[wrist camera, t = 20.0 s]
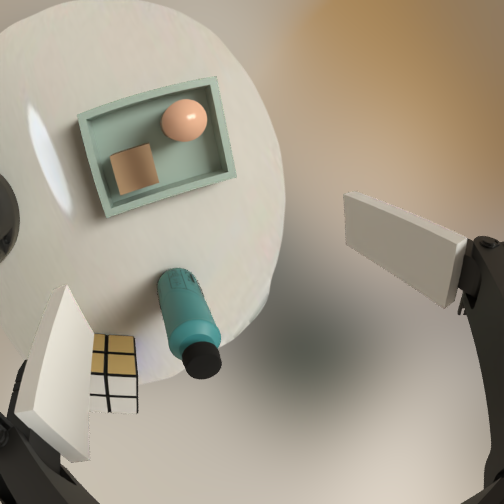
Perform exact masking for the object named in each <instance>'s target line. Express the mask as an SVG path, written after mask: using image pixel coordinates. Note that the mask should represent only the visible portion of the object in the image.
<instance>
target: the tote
mask: <svg viewBox="0 0 504 504" xmlns="http://www.w3.org/2000/svg"><path fill="white" fill-rule="evenodd" d="M183 99H190V100H194V101H196V102H198V103H199V104H200V105H201V106H202V107H203V108H204V110H205V112H206V115H207V125H206V128H205V130H204V131H203V133H202V134H201V135H200V136H199V137H198V138H196V139H194V140H192V141H188V142H181V141H176V140H172V139H170V138H168V137H166V136H165V135H164V134H163V132H162V130H161V128H160V119H161V116H162V114H163V113H164V111H165V110H166V109H167V108H168V107H169V106H170V105H172V104H173V103H175V102H176V101H179V100H183ZM77 117H78V122H79V126H80V130H81V134H82V138H83V142H84V146H85V150H86V154H87V157H88V161H89V165H90V168H91V172H92V175H93V178H94V182H95V185H96V188H97V191H98V194H99V198H100V201H101V204H102V207H103V210H104V213H105V215H106V218H109V217H112V216H114V215H117V214H120V213H123V212H126V211H129V210H131V209H134V208H137V207H140V206H143V205H146V204H149V203H152V202H155V201H158V200H161V199H165V198H168V197H171V196H174V195H177V194H181V193H184V192H187V191H190V190H194V189H197V188H200V187H204V186H207V185H211V184H214V183H218V182H221V181H225V180H229V179H232V178H236V177H237V175H236V170H235V165H234V160H233V155H232V150H231V145H230V140H229V135H228V131H227V126H226V121H225V116H224V111H223V106H222V101H221V96H220V91H219V86H218V81H217V76H214V77H208V78H203V79H198V80H193V81H188V82H183V83H179V84H174V85H170V86H166V87H162V88H158V89H154V90H150V91H147V92H143V93H140V94H136V95H133V96H129V97H126V98H123V99H120V100H117V101H114V102H111V103H108V104H105V105H102V106H99V107H96V108H94V109H91V110H88V111H86V112H83V113H80V114H78V115H77ZM148 142H149V144H150V148H151V152H152V156H153V160H154V164H155V168H156V172H157V176H158V179H159V183H157V184H154V185H151V186H148V187H144V188H141V189H138V190H135V191H132V192H129V193H126V194H123V195H120V192H119V188H118V185H117V181H116V178H115V175H114V171H113V167H112V164H111V160H110V156H111V155H112V154H114V153H116V152H119V151H122V150H125V149H128V148H132V147H135V146H138V145H141V144H144V143H148Z"/></svg>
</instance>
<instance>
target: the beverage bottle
mask: <svg viewBox="0 0 504 504" xmlns="http://www.w3.org/2000/svg"><path fill="white" fill-rule="evenodd" d="M197 282H198V280H197V281H196V279H195V277H194V275H193V274H192V273H191V272H189V271H188V270H186V269H182V268H174V269H170V270H168V271H166V272H165V273H164V274H163V275H162V276H161V278H160V279H159V282H158V287H157V288H158V289H157V290H158V291H157V295H159V297H158V300H159V303H160V304H159V305H160V307H161V310H162V315H163V319H162V320H164V323H165V328H166V333H167V337H168V344H169V348H170V351H171V352H172V354H173V355H174V356H175V357H177V358H178V359H180V360H182V362H183V365H184V366H185V369H186V371H187V373H188V374H189V375H190V376H191V377H193V378H196V379H207V378H210V377H212V376H214V375H215V374H217V373H218V372H219V370H220V368H221V365H222V362H221V359H220V354H219V351H218V347H219V345H220V342H221V334H220V331H219V329H218V327H217V326H216V324H215V322H214V319H213V317H212V315H211V313H210V310H209V308H208V306H207V303H206V301H205V299H204V295H203V293H202V292H201V291H202V290H200V289H201V287H200V288H199V286H200V285H198V284H199V283H197Z"/></svg>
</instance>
